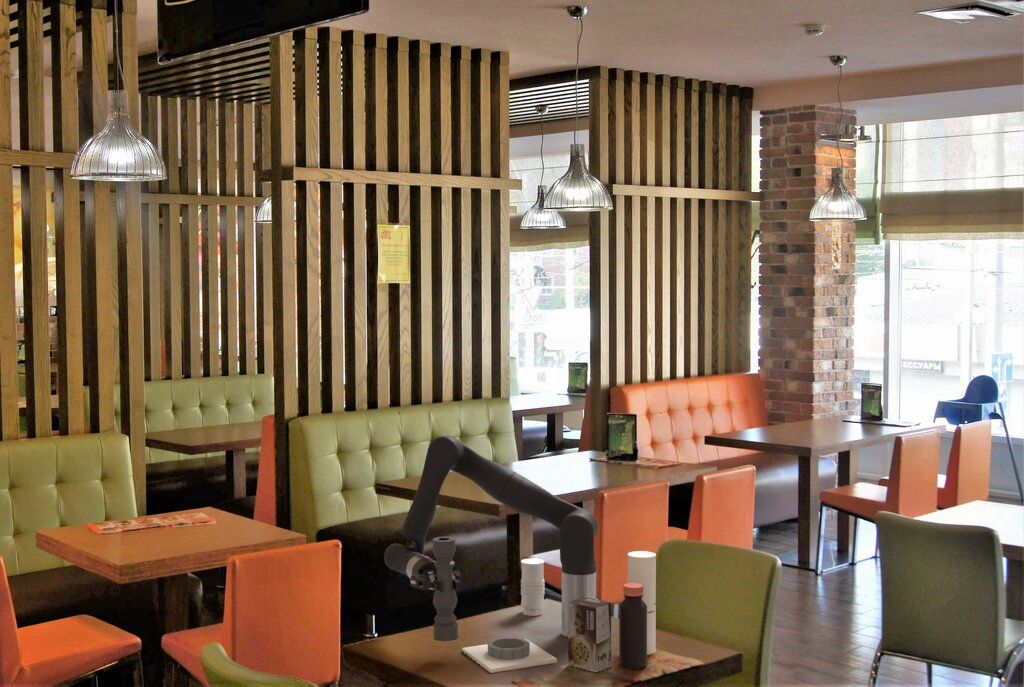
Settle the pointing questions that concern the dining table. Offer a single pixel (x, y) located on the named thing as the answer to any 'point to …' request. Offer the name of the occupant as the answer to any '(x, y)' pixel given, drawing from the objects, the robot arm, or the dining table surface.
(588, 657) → the coffee box
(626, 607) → the bottle
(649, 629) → the cylindrical container
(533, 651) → the collar plate
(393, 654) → the dining table surface
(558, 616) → the dining table surface
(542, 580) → the candle
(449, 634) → the candle holder
